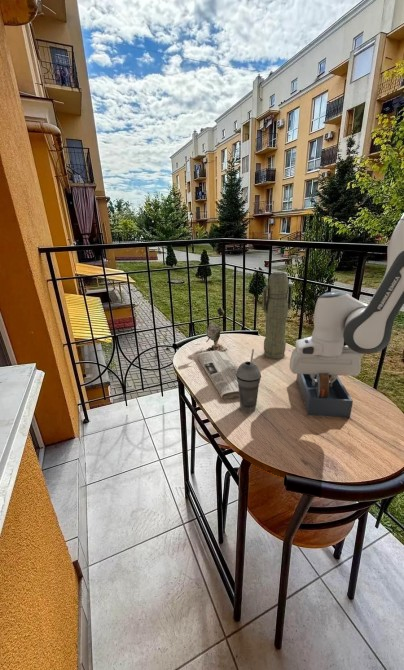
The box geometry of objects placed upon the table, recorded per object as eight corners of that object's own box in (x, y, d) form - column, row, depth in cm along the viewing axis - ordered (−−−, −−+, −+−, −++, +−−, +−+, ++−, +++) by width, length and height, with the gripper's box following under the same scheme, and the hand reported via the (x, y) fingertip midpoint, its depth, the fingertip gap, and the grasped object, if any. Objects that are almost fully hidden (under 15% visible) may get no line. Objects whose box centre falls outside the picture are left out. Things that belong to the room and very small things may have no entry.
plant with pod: (216, 343, 136) (215, 303, 129) (229, 351, 127) (229, 308, 120) (201, 347, 132) (199, 306, 125) (214, 355, 123) (213, 311, 116)
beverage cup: (241, 399, 90) (242, 342, 83) (263, 405, 87) (266, 346, 80) (231, 411, 84) (231, 351, 77) (254, 418, 81) (256, 355, 74)
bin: (330, 381, 99) (332, 367, 97) (350, 417, 80) (353, 400, 78) (296, 379, 101) (297, 366, 99) (307, 414, 82) (309, 398, 80)
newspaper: (196, 357, 121) (196, 350, 120) (223, 353, 124) (223, 346, 123) (223, 401, 89) (223, 392, 88) (258, 395, 92) (259, 385, 91)
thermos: (256, 353, 123) (259, 272, 111) (280, 349, 126) (285, 270, 114) (266, 361, 115) (270, 275, 103) (291, 357, 118) (298, 273, 106)
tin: (326, 407, 83) (332, 382, 80) (315, 405, 84) (320, 380, 80) (323, 382, 96) (328, 360, 93) (313, 380, 97) (318, 358, 94)
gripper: (360, 342, 85) (353, 382, 90) (290, 340, 88) (287, 379, 93) (368, 350, 79) (360, 392, 84) (293, 348, 83) (290, 389, 87)
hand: (321, 385), depth 89 cm, fingers closed on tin, 3 cm apart
